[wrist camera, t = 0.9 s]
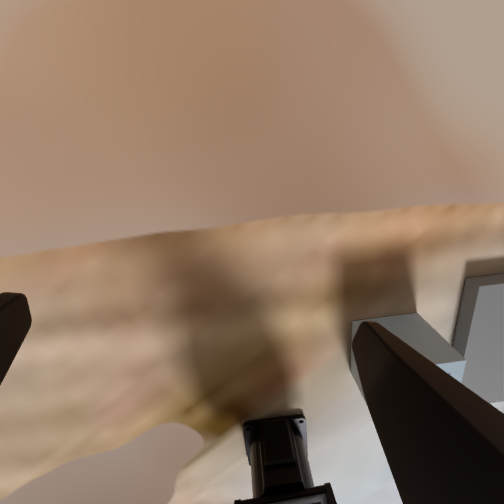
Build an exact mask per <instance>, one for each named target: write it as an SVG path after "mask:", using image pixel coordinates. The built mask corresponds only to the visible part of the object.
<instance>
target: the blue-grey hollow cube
mask: <svg viewBox="0 0 504 504" xmlns="http://www.w3.org/2000/svg"><path fill="white" fill-rule="evenodd" d="M363 321H374V322H377V323H379V324H380V325H382V326H383V327H385V328H386V329H387V330H389V331H390V332H391V333H393V334H394V335H396V336H397V337H398V338H400V339H401V340H402V341H404V342H405V343H407V344H408V345H409V346H411V347H412V348H413V349H415V350H416V351H418V352H419V353H420V354H422V355H423V356H425V357H426V358H427V359H429V360H430V361H431V362H433V363H434V364H436V365H437V366H438V367H440V368H441V369H442V370H444V371H445V372H447V373H448V374H449V375H451V376H452V377H454V378H455V379H456V380H458V381H459V382H460V383H461V382H462V378H463V373H464V369H465V365H466V359H465V358H464V357H462V356H461V355H460V354H459V353H458V352H457V351H456V350H455V349H454V348H453V347H452V346H451V345H450V344H449V343H448V342H447V341H446V340H445V339H444V338H443V337H442V336H441V335H440V334H439V333H438V332H437V331H436V330H434V329H433V328H432V327H431V326H430V325H429V324H428V323H427V322H426V321H425V320H424V319H423V318H422V317H421V316H420V315H419V314H418V313H412V314H404V315H396V316H388V317H380V318H373V319H365V320H357V321H352V339H351V371H350V372H351V374H352V376H353V378H354V380H355V382H356V384H357V386H358V388H359V390H360V392H361V394H362V396H363V398H364V400H365V397H364V393H363V390H362V386H361V382H360V378H359V374H358V370H357V366H356V362H355V358H354V354H353V350H352V340H353V338H354V336H355V334H356V332H357V329H358V327H359V325H360V323H361V322H363ZM365 402H366V400H365ZM366 404H367V403H366Z"/></svg>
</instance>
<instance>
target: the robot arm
mask: <svg viewBox="0 0 504 504" xmlns="http://www.w3.org/2000/svg"><path fill="white" fill-rule="evenodd" d="M31 322H32V319H31V314H30V310H29V305H28V301H27V298H26V296H25V295H24V294H22V293H12V292H4V293H1V294H0V385H1V383H2V381H3V379H4V377H5V376H6V374H7V372H8V370H9V368H10V366H11V364H12V362H13V360H14V358H15V356H16V354H17V352H18V350H19V349H20V347H21V345H22V343H23V341H24V339H25V337H26V335H27V333H28V331H29V329H30V327H31ZM352 350H353V354H354V358H355V362H356V366H357V370H358V374H359V378H360V382H361V386H362V390H363V393H364V397H365V400H366V403H367V406H368V409H369V411H370V414H371V417H372V420H373V422H374V425H375V428H376V431H377V434H378V436H379V439H380V442H381V445H382V447H383V450H384V453H385V456H386V458H387V461H388V464H389V467H390V469H391V472H392V475H393V478H394V480H395V483H396V486H397V489H398V491H399V494H400V497H401V500H402V502H403V504H504V414H503V413H502V412H501V411H499V410H498V409H496V408H495V407H494V406H492V405H491V404H489V403H488V402H487V401H485V400H484V399H483V398H481V397H480V396H478V395H477V394H476V393H474V392H473V391H472V390H470V389H469V388H467V387H466V386H465V385H463V384H462V383H460V382H459V381H458V380H456V379H455V378H454V377H452V376H451V375H449V374H448V373H447V372H445V371H444V370H442V369H441V368H440V367H438V366H437V365H436V364H434V363H433V362H431V361H430V360H429V359H427V358H426V357H425V356H423V355H422V354H420V353H419V352H418V351H416V350H415V349H413V348H412V347H411V346H409V345H408V344H407V343H405V342H404V341H402V340H401V339H400V338H398V337H397V336H396V335H394V334H393V333H391V332H390V331H389V330H387V329H386V328H385V327H383V326H382V325H380V324H379V323H377V322H374V321H363V322H361V323H360V325H359V327H358V329H357V332H356V334H355V336H354V338H353V340H352ZM243 431H244V437H245V443H246V449H247V455H248V461H249V465H250V466H251V473H252V490H253V498H252V499H246V500H241V499H239V500H235V501H234V504H337V503H336V500H335V497H334V494H333V491H332V487H331V484H330V483H325V484H324V485H321V486H316V487H314V483H313V479H312V475H311V471H310V466H309V462H308V458H307V457H308V453H307V432H306V419H305V416H304V415H295V416H288V417H280V418H273V419H265V420H258V421H251V422H245V423H244V424H243Z"/></svg>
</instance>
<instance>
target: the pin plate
mask: <svg viewBox="0 0 504 504" xmlns="http://www.w3.org/2000/svg"><path fill="white" fill-rule="evenodd" d="M453 348H454V349H455V350H456V351H457V352H458V353H459V354H460V355H461V356H462V357H464V358H465V359H466V365H465V369H464V373H463V378H462V382H461V383H462V384H463V385H465V386H466V387H467V388H469V389H470V390H472V391H473V392H474V393H476V394H477V395H478V396H480V397H481V398H483V399H484V400H485V401H487V402H488V403H494V402H501V401H504V273H503V274H495V275H487V276H479V277H471V278H466V281H465V286H464V291H463V296H462V301H461V306H460V311H459V316H458V321H457V327H456V332H455V337H454V342H453Z"/></svg>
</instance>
